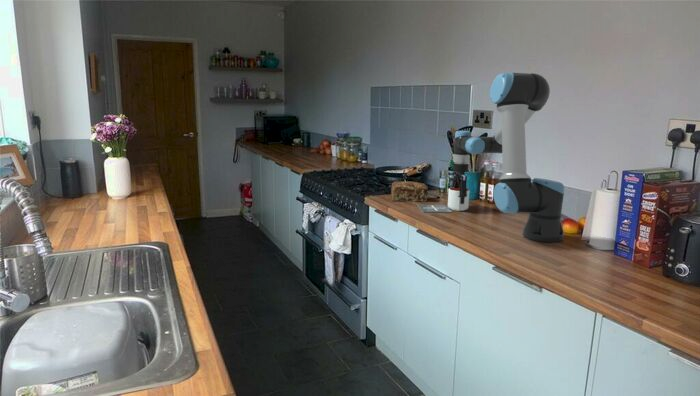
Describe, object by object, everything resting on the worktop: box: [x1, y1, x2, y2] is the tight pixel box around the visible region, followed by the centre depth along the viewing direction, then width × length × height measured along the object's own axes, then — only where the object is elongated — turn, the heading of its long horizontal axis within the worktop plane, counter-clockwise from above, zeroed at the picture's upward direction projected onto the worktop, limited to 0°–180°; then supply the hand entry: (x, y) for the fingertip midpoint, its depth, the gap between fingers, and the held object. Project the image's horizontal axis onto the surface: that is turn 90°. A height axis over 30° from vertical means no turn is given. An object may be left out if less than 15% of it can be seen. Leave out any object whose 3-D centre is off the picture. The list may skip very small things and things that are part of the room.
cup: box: [447, 187, 471, 212], centre depth 231 cm, size 10×10×10 cm
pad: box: [417, 204, 453, 214], centre depth 231 cm, size 14×14×1 cm
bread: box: [390, 180, 429, 203], centre depth 250 cm, size 19×11×10 cm, turn 89°
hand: (457, 207), depth 232 cm, fingers closed on cup, 10 cm apart
